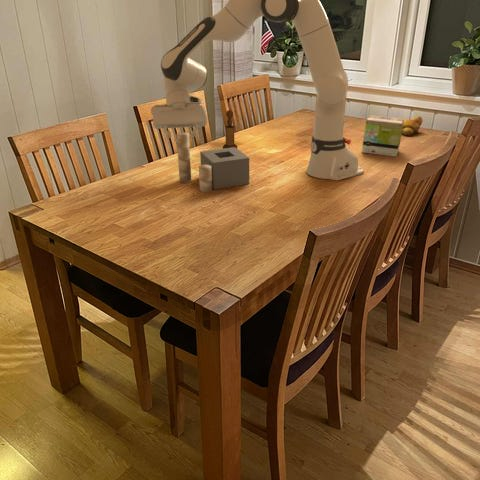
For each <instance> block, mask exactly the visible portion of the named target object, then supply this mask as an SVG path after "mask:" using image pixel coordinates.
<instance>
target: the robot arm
mask: <svg viewBox="0 0 480 480" xmlns="http://www.w3.org/2000/svg"><path fill="white" fill-rule="evenodd" d="M260 17H264V18H265V19H266V20H268V21H270V22H272V23H283V22H291V23H292V24H293V26H294V27H295V30H296V32H297V35H298V38H299V42H300V44H301V47H302V50H303V54H304V55H305V58H306V62H307V65H308V69H309V73H310V75H311V79H312V81H313V85H314V89H315V92H316V98H315V108H314V119H313V131H312V132H313V133H312V136H311V140H310V151H311V152H310V158H309V162H308V165H307V167H306V170H305V171H306V174H308V175H309V176H311V177H314V178H317V179H324V180H326V179H327V180H332V181H340V180H343V179H344V180H345V179H348V178H351V177H355V176H359V175H362V174H364V169H363V167H361V166H360V165H359V158H358V156H357V155H356V154H355V153H354V152H352V151H351V150H350V149H349V148H348V147H347V146H346V145H348V146H349V145H350V144H352V139H350V138H347V137H346V138H345V137H343V135H344V128H345V127H344V126H345V119H346V118H345V116H346V105H347V95H348V94H347V93H348V91H349V78H348V74H347V72H346V71H345V69H344V67H343V63H342V59H341V57H340V53H339V50H338V49H339V48H338V45H337V43H336V39H335V36H334V34H333V30H332V26H331V24H330V21H329V18H328V16H327V13H326V11H325V9H324V7H323V5H322V3H321V1H320V0H228V1H227V2H226V4H225V5H224V7H222V9H220V10H219V12H217V13H215V14H214V15H211V16H207V17H205V18H203V19H202V20H201V21H200V22H199V23H197V24H196V26H195V27H194V28H192V30H191V31H189V32H188V33H187V34H186V36H184V37H183V38H182V40H180V41H179V42H178V43H177V44H176V45H175V46H174V47H173V48H171V49H170V50H168V51H167V52H166V53H165V54H164V55H163V56H162V58H161V61H160V68H161V72H162V74H163V76H164V77H163V81H164V82H163V83H164V89H165V93H166V95H165V101H166V103H165V104H155V105H153V106H152V107H151V109H150V114H151V115H152V123H153V124H152V126H153V128H154V129H159V130H160V129H162V131H163V132H164V133H165V134H166V138H167V139H171V138H172V134H171V131H168V129H176V128H177V129H179V128H180V129H181V128H193V129H194V130H192V131H191V135H192V136H191V137H197V132H198V131H199V127H201V128H202V127H206V126H207V124H208V117H207V112H206V109H205V106H204V105H203V104H202V98H200V97H197V96H192V95H190V93H191V94H192V93H194V92H196V91H199V90H201V89H202V88H203V87H205V85H206V83H207V80H208V70H207V68H206V67H205V66H204V65H203V64H201V63H200V62H197V61H196V60H193V59H192V58H190V56H191V55H193V53H194V52H196V50H197V49H199V47H201V45H203V44H204V43H206V42H209V41H217V42H218V41H219V42H224V43H231V42H233V43H234V42H237V41H238V40H240V39H242V37H243V36H244V35H245V34H246V33H247V32H248V30H249V29H250V28H251V27H252V25H253V24H254V23H255V22H256V21H257V20H258V19H259V18H260Z"/></svg>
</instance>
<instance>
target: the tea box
mask: <svg viewBox="0 0 480 480" xmlns="http://www.w3.org/2000/svg"><path fill="white" fill-rule="evenodd" d="M404 120H405V118H401V117H391V116H382V115H371V114H369V116H368V117H367V119H366V122H365V127H364V132H363V133H364V135H363V141H362V148H361V153H362V154H363V153H364V154H365V153H366V154H372V155H373V154H374V155H379V156H388V157H393V158H394V157H397V154H398V152H399V149H400V144H401V140H402V139H401V137H402V134H403V133H402V128H403V123H404Z"/></svg>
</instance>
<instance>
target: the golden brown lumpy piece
mask: <svg viewBox="0 0 480 480" xmlns="http://www.w3.org/2000/svg"><path fill="white" fill-rule="evenodd" d="M423 120H424V119H423V118H422V117H421V116H414V117H412V118H407V119H404V123H403V128H402V134H403V135H405V136H413V135H414V133H415V134H417V133H418V132H419V130H420V127H421V126H422V123H423Z"/></svg>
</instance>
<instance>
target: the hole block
mask: <svg viewBox="0 0 480 480" xmlns="http://www.w3.org/2000/svg"><path fill="white" fill-rule="evenodd" d="M199 152H200V153H199V154H200V165H210V166H211V170H212V190H218V189H225V188H229V187H238V186H243V185H249V184H250V157H249V156H247V155H246V154H245V153H244V152H242V151H240V149H238V147H237V148H235V147H232V148H224V149H223V148H218V149H217V148H216V149H210V150H202V151H199Z"/></svg>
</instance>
